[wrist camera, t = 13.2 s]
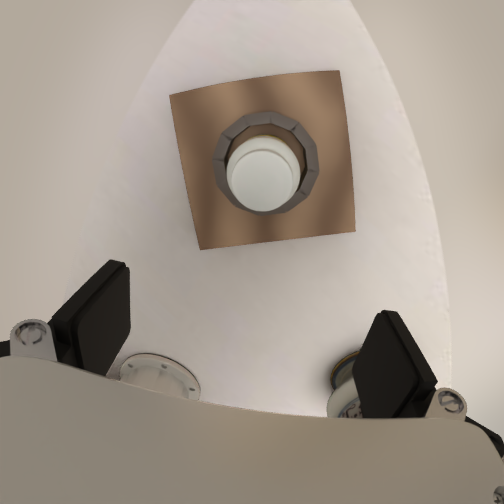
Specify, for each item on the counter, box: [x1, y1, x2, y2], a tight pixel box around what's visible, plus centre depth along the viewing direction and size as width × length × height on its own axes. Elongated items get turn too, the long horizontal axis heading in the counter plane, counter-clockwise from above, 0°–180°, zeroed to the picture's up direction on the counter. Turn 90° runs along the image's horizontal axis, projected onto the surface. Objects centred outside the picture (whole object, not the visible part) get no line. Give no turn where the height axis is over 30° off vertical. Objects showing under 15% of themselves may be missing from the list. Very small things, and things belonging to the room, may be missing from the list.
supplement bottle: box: [227, 134, 300, 211], centre depth 24 cm, size 5×5×10 cm
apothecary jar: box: [327, 351, 364, 418], centre depth 31 cm, size 12×12×18 cm
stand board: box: [169, 70, 356, 250], centre depth 27 cm, size 16×16×4 cm
